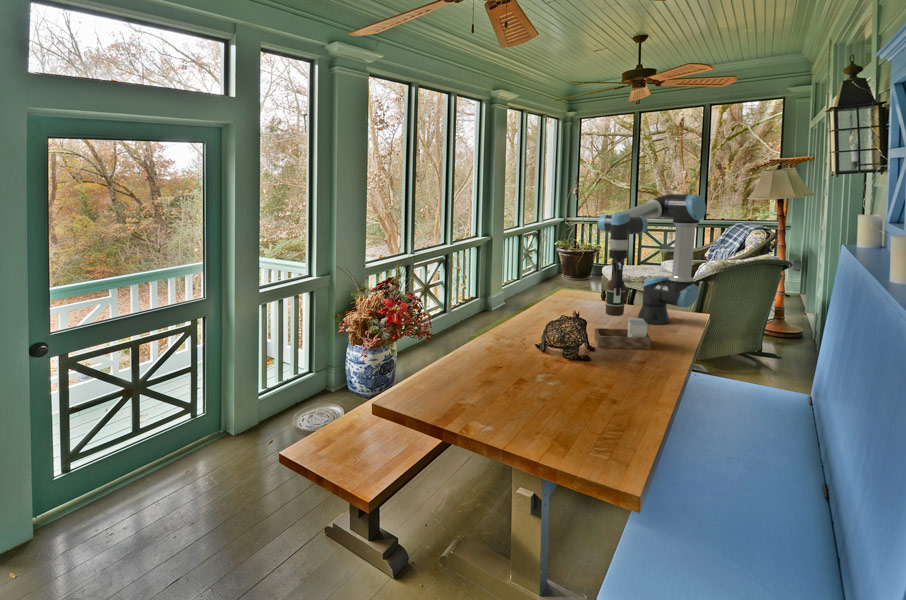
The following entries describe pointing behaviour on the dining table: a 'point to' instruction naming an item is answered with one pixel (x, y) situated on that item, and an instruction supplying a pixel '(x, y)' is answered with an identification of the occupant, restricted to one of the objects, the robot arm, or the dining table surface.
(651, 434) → the dining table surface
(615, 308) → the beer bottle
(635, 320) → the carton
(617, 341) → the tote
